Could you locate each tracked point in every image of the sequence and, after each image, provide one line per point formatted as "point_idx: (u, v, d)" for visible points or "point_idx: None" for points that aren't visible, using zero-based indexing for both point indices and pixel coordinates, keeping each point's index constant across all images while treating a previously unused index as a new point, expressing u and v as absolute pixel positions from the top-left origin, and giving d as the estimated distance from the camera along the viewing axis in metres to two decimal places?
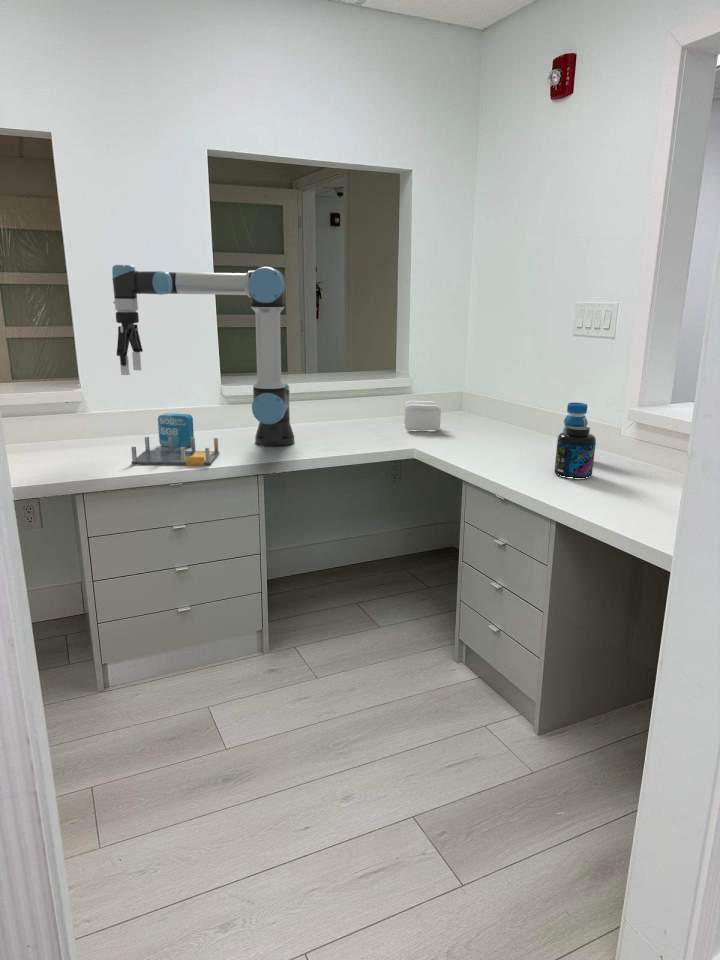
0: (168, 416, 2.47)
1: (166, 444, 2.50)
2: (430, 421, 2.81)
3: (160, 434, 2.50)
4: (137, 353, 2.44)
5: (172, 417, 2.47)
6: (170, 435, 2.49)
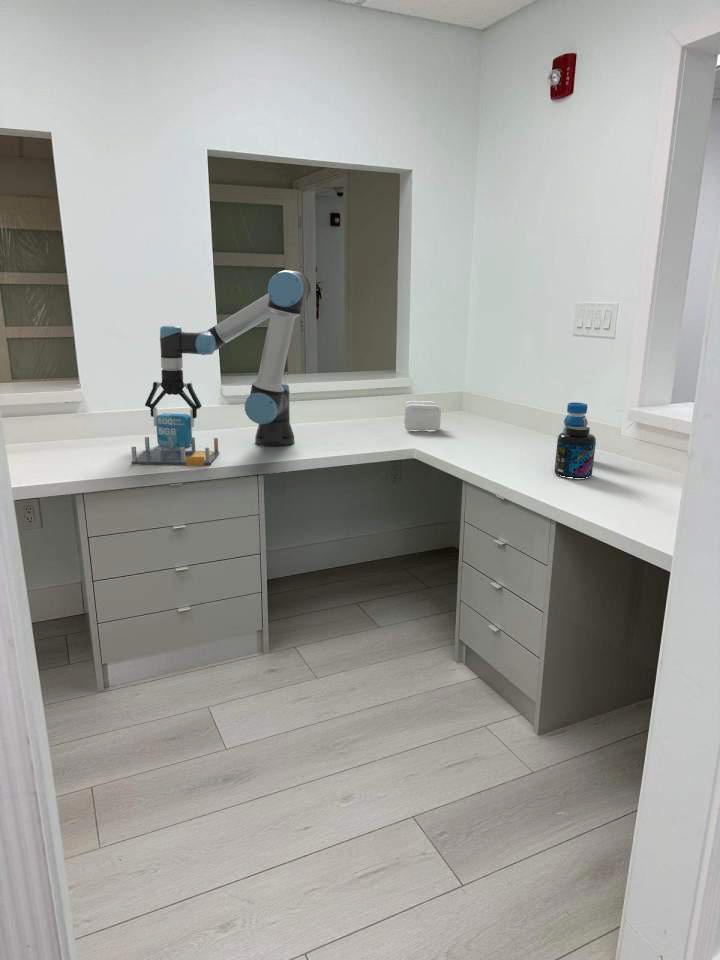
0: (166, 416, 2.47)
1: (164, 444, 2.51)
2: (430, 421, 2.81)
3: (158, 434, 2.50)
4: None
5: (170, 417, 2.47)
6: (168, 435, 2.49)
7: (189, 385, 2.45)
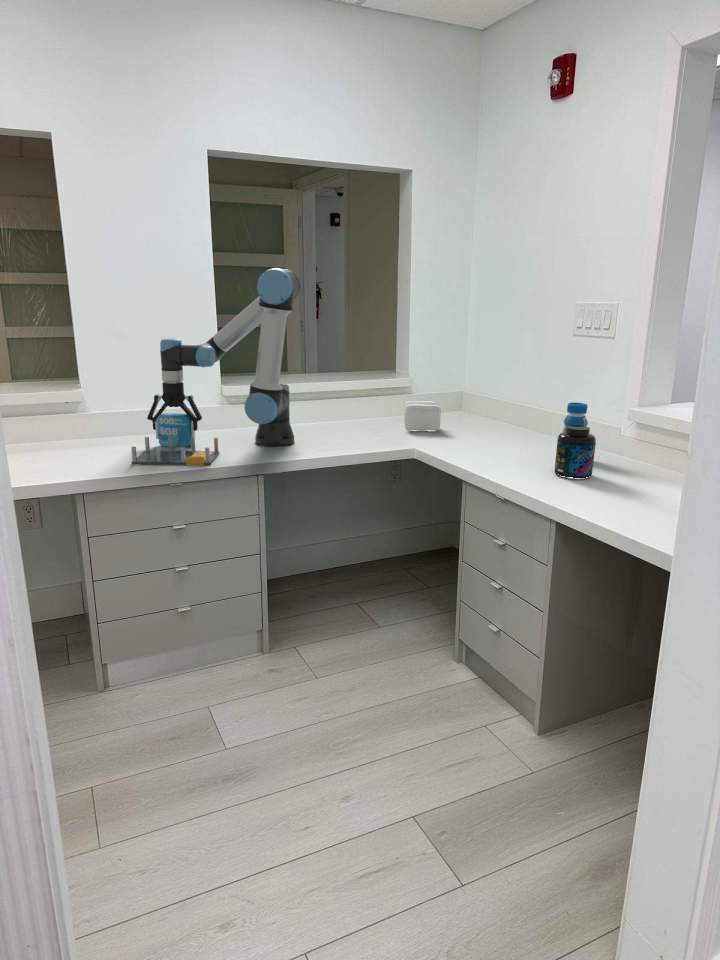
0: (167, 416, 2.47)
1: (165, 444, 2.50)
2: (430, 421, 2.81)
3: (159, 434, 2.50)
4: None
5: (172, 417, 2.47)
6: (170, 435, 2.49)
7: (190, 397, 2.46)
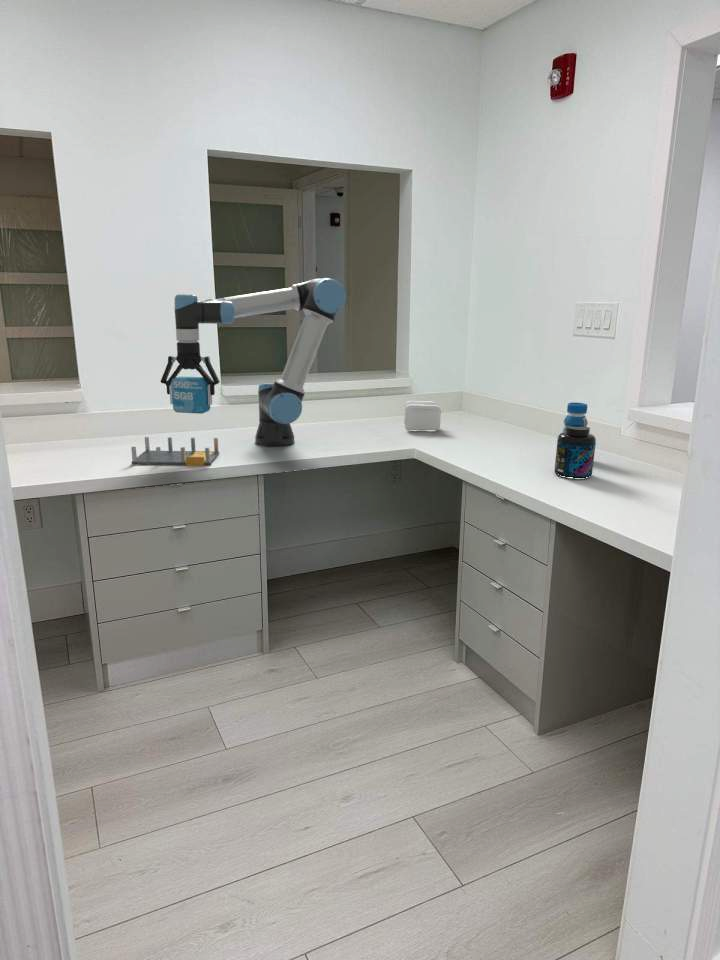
0: (182, 379, 2.29)
1: (180, 410, 2.32)
2: (430, 421, 2.81)
3: (174, 399, 2.31)
4: None
5: (187, 380, 2.28)
6: (185, 400, 2.30)
7: (206, 359, 2.27)
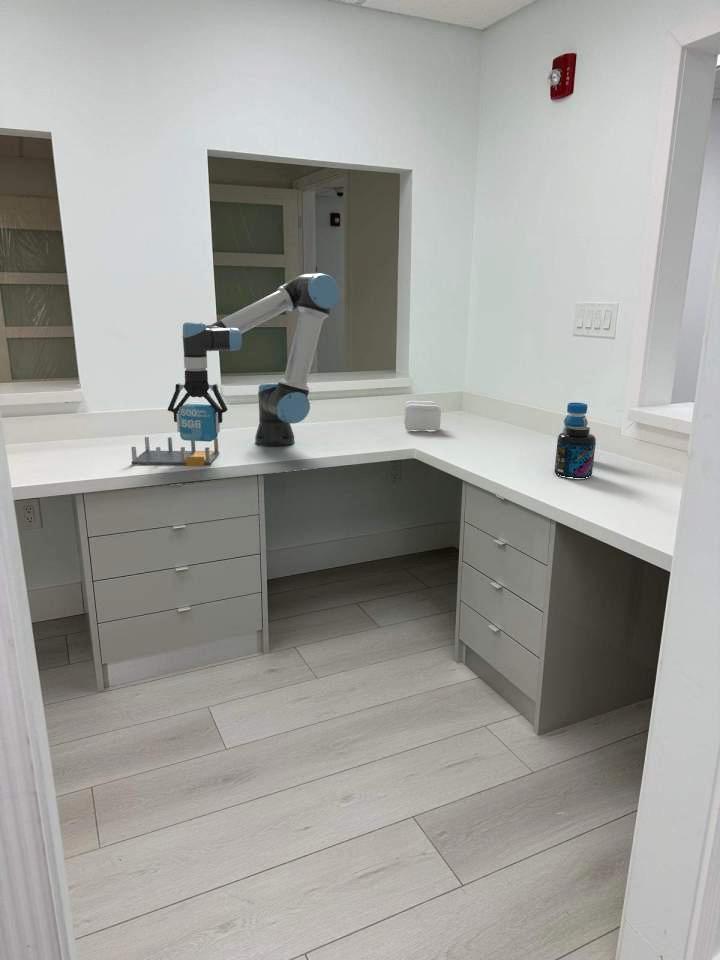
0: (190, 407, 2.26)
1: (187, 438, 2.29)
2: (430, 421, 2.81)
3: (181, 427, 2.29)
4: None
5: (195, 408, 2.26)
6: (192, 428, 2.28)
7: (215, 387, 2.25)
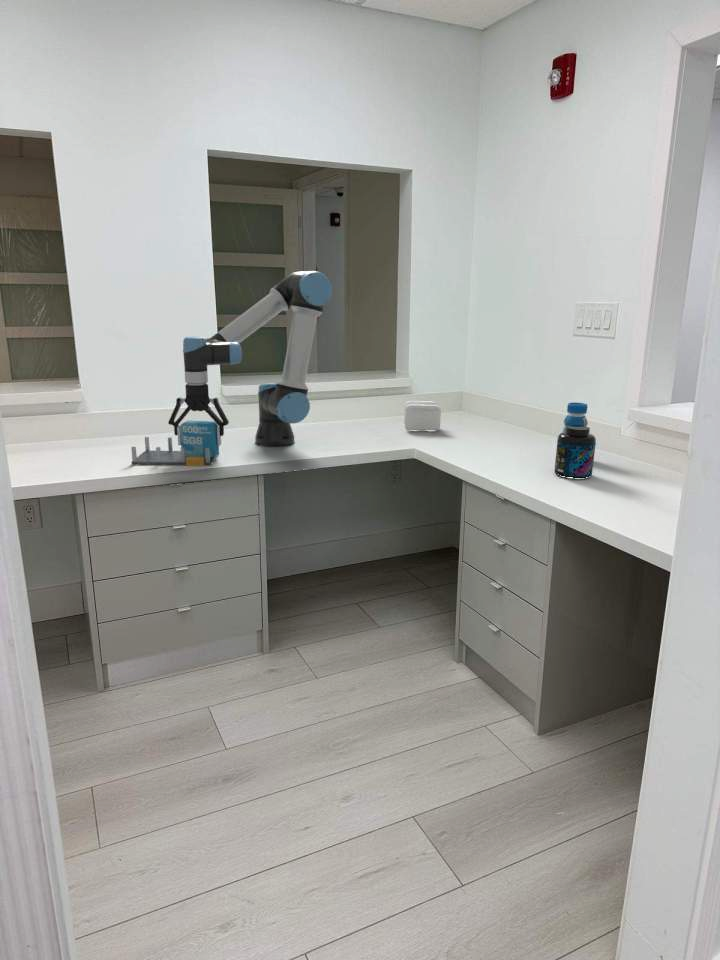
0: (192, 424, 2.28)
1: (189, 454, 2.31)
2: (430, 421, 2.81)
3: (183, 443, 2.30)
4: None
5: (196, 425, 2.28)
6: (194, 444, 2.30)
7: (215, 400, 2.26)
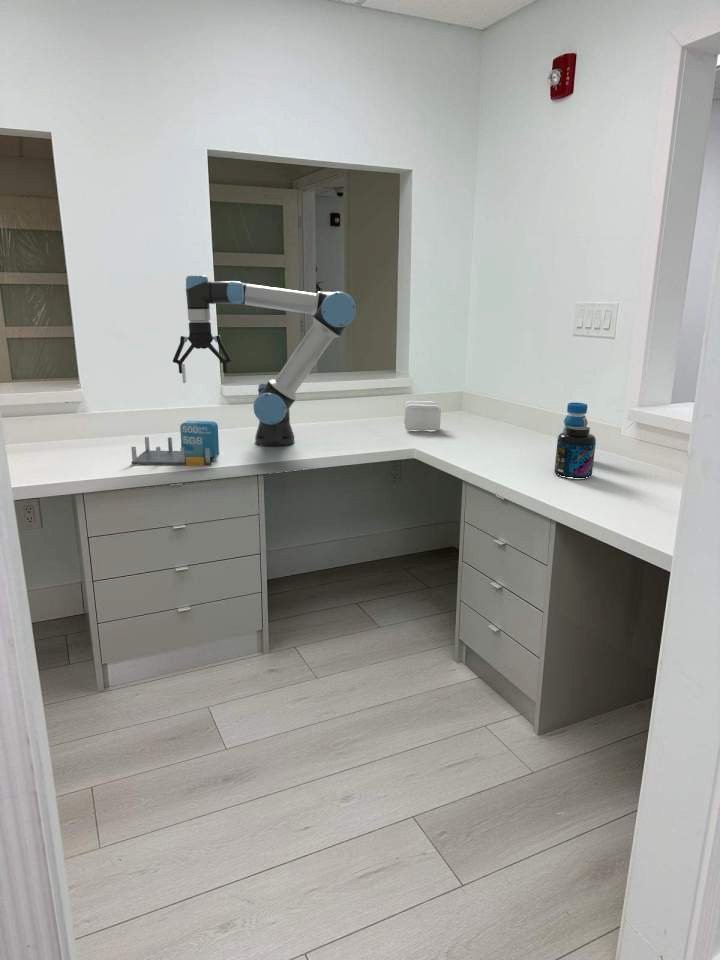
0: (191, 424, 2.28)
1: (189, 454, 2.31)
2: (430, 421, 2.81)
3: (182, 443, 2.30)
4: None
5: (196, 425, 2.28)
6: (194, 444, 2.30)
7: (218, 337, 2.35)
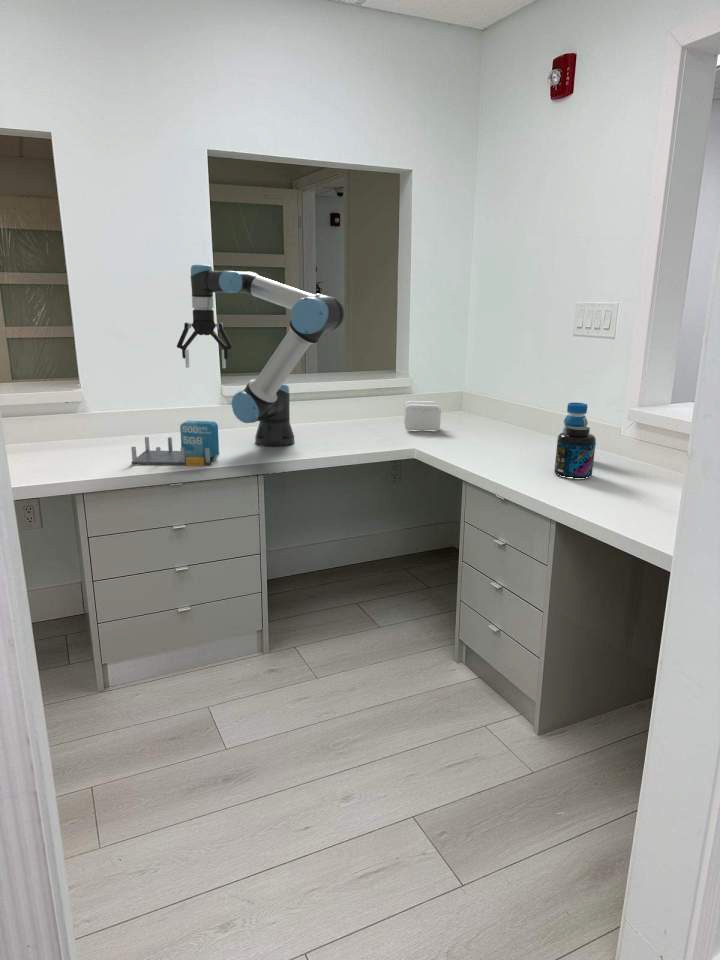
0: (191, 424, 2.28)
1: (189, 454, 2.31)
2: (430, 421, 2.81)
3: (182, 443, 2.30)
4: None
5: (196, 425, 2.28)
6: (194, 444, 2.30)
7: (220, 325, 2.45)
